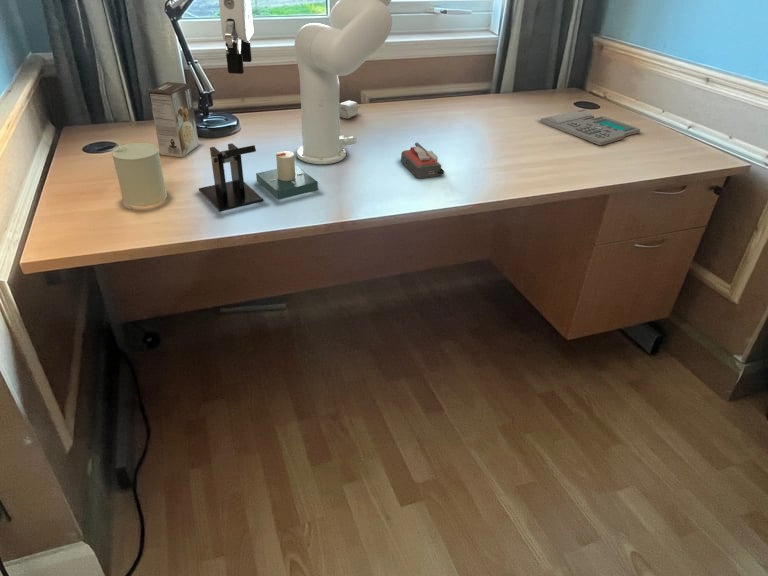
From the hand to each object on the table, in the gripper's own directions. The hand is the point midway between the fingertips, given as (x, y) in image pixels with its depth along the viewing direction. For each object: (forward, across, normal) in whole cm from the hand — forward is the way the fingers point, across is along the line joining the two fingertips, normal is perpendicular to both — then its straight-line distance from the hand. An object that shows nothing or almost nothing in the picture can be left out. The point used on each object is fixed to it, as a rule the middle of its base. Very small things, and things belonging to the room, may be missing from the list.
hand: (240, 67), depth 126 cm
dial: (+22, -8, -10) cm, 25 cm away
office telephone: (+25, +41, -96) cm, 107 cm away
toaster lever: (+14, -17, 0) cm, 22 cm away
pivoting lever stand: (+25, -14, +2) cm, 28 cm away
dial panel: (+25, -8, -10) cm, 28 cm away
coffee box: (+25, +14, +21) cm, 36 cm away
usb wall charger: (+25, +47, -23) cm, 58 cm away
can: (+25, -15, +20) cm, 36 cm away
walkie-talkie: (+25, +10, -41) cm, 49 cm away
